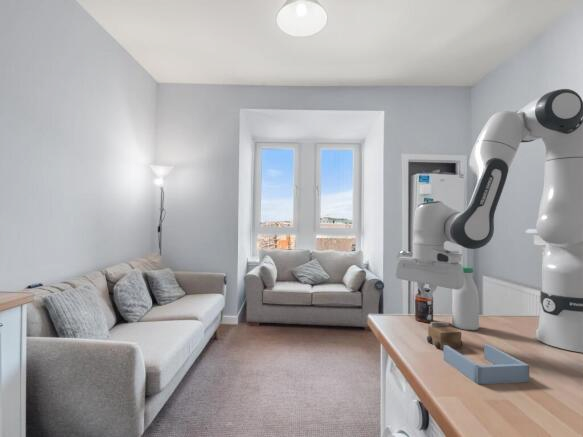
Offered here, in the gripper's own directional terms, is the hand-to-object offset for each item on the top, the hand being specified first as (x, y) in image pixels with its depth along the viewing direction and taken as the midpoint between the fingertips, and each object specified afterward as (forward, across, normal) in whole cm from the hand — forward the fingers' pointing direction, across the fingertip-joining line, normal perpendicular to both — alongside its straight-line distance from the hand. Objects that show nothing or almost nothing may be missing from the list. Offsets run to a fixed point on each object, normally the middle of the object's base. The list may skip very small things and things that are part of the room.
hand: (426, 298), depth 94 cm
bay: (+10, +20, -13) cm, 26 cm away
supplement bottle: (+12, -7, +14) cm, 19 cm away
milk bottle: (+11, +5, +17) cm, 21 cm away
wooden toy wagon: (+11, +7, -4) cm, 14 cm away
